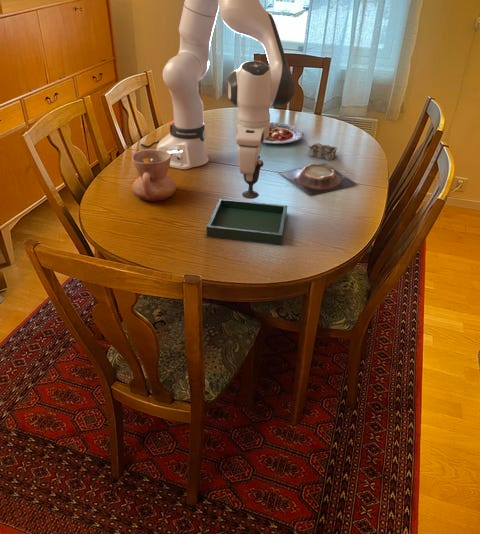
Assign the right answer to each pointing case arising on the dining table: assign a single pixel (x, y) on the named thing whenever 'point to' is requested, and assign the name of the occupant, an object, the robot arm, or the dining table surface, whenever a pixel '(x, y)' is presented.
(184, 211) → the dining table surface
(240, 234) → the serving tray
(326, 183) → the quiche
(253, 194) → the sundae
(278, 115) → the dining table surface
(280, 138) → the ceramic plate
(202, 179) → the dining table surface
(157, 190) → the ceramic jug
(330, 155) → the egg carton
